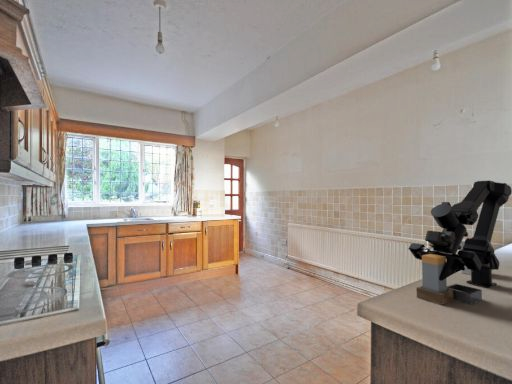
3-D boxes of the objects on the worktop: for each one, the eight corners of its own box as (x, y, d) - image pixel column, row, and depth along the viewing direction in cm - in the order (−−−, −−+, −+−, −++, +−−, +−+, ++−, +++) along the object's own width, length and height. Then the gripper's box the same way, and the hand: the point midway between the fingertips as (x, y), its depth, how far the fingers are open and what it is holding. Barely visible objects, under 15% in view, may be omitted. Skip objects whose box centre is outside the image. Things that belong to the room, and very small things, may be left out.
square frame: (429, 293, 86) (429, 283, 86) (453, 300, 80) (453, 290, 80) (416, 297, 83) (416, 287, 83) (440, 304, 77) (440, 294, 77)
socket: (456, 292, 86) (455, 283, 86) (482, 299, 80) (481, 289, 80) (444, 296, 83) (443, 287, 83) (470, 304, 77) (470, 294, 77)
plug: (431, 295, 85) (430, 253, 85) (447, 299, 81) (445, 256, 81) (423, 297, 83) (421, 255, 83) (438, 302, 79) (437, 258, 79)
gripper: (411, 219, 92) (390, 255, 87) (475, 223, 76) (454, 268, 70) (425, 240, 96) (406, 276, 90) (490, 248, 79) (471, 293, 74)
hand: (431, 277), depth 81 cm, fingers closed on plug, 4 cm apart
